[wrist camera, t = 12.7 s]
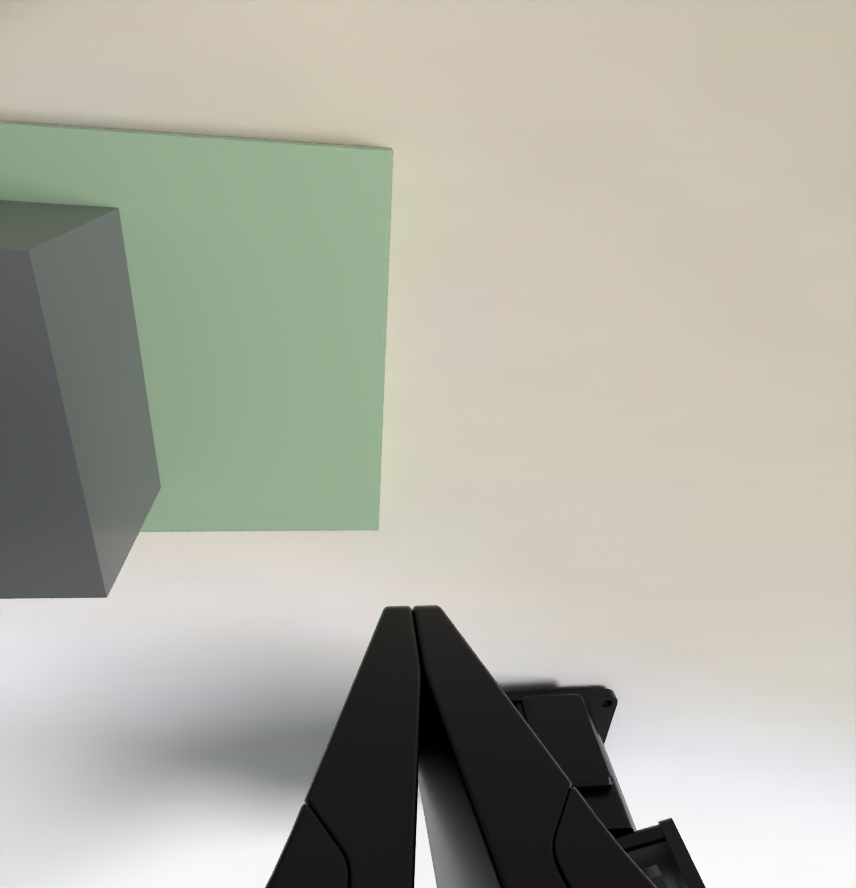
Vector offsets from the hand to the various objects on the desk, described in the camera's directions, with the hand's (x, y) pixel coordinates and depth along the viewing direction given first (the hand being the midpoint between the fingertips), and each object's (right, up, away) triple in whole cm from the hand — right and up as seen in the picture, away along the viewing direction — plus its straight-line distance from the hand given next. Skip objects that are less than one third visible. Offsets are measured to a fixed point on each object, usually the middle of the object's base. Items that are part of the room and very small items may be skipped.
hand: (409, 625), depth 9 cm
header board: (-7, +6, +9) cm, 13 cm away
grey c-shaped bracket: (-11, +5, +8) cm, 15 cm away
